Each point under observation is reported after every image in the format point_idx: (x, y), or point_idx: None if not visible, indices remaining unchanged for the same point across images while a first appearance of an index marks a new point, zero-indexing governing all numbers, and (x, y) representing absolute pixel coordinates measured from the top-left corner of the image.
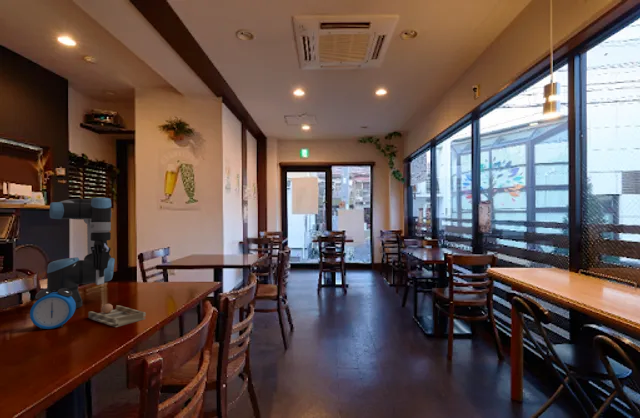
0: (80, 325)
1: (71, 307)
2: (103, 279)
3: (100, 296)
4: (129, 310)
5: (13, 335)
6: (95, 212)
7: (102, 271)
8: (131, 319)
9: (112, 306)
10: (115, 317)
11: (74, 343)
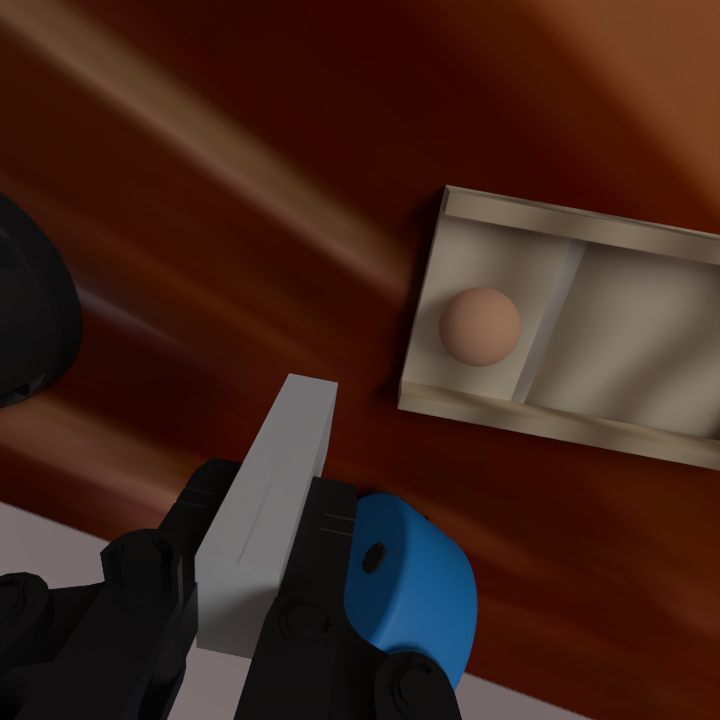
0: (487, 477)
1: (476, 603)
2: (324, 427)
3: None
4: (681, 255)
5: None
6: None
7: (328, 586)
8: None
9: (513, 308)
10: (596, 334)
11: (693, 615)
